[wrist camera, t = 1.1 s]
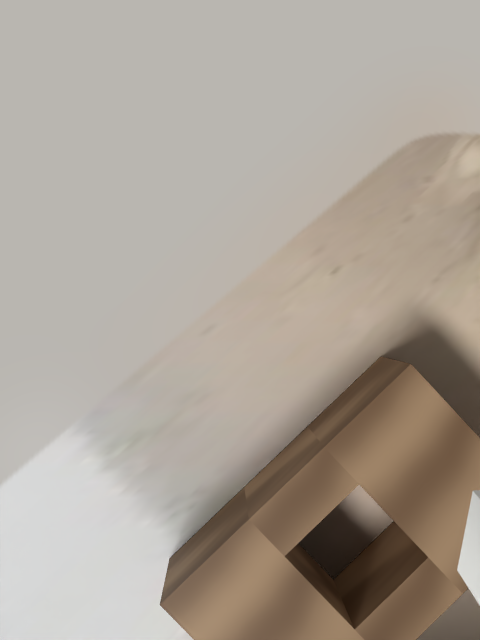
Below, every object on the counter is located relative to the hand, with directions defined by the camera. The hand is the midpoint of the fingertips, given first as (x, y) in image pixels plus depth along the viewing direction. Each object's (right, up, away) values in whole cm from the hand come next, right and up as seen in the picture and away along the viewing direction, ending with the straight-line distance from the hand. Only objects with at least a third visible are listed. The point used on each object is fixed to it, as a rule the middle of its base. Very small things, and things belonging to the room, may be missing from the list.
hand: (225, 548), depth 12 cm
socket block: (+7, -8, +20) cm, 22 cm away
